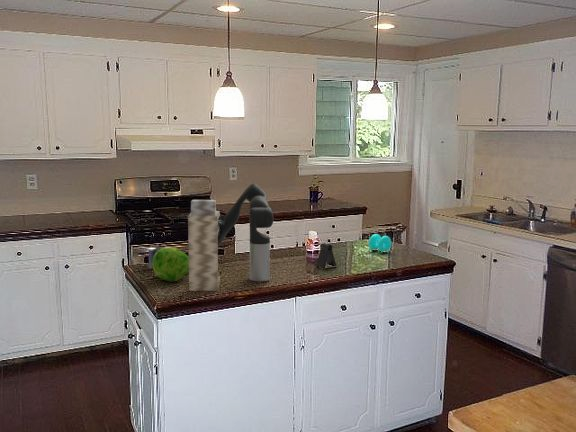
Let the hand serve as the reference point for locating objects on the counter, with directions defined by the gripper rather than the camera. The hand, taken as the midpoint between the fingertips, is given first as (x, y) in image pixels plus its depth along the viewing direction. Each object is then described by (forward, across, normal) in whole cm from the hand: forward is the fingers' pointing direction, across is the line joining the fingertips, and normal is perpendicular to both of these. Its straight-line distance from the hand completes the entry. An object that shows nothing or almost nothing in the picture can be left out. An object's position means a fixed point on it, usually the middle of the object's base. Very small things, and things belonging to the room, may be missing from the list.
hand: (209, 214), depth 253 cm
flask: (-22, -26, +20) cm, 39 cm away
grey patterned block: (+18, 0, +6) cm, 19 cm away
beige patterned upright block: (+6, 0, +36) cm, 36 cm away
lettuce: (-3, -17, +31) cm, 35 cm away
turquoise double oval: (-54, +94, +2) cm, 108 cm away
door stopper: (-23, +58, +20) cm, 65 cm away
